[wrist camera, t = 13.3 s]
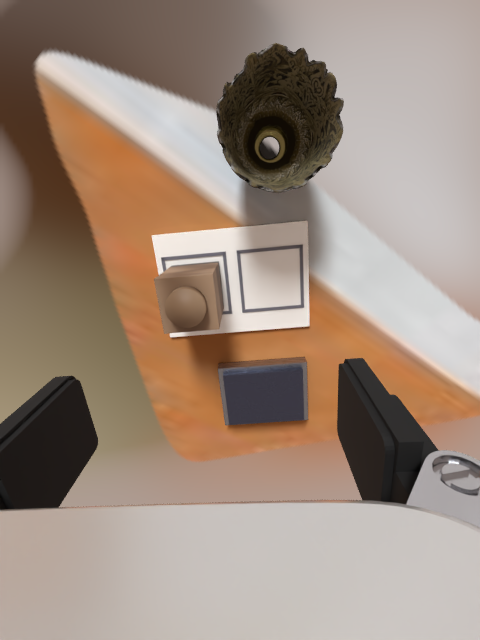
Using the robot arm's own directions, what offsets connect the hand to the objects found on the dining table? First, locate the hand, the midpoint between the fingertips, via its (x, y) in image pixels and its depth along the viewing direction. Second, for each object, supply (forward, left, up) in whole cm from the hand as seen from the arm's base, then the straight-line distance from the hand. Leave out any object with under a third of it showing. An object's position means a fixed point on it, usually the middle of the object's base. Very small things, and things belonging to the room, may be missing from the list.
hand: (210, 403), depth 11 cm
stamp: (+3, 0, -19) cm, 19 cm away
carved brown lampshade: (-4, -11, -20) cm, 23 cm away
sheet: (0, 0, -19) cm, 19 cm away
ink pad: (-2, +12, -19) cm, 23 cm away
